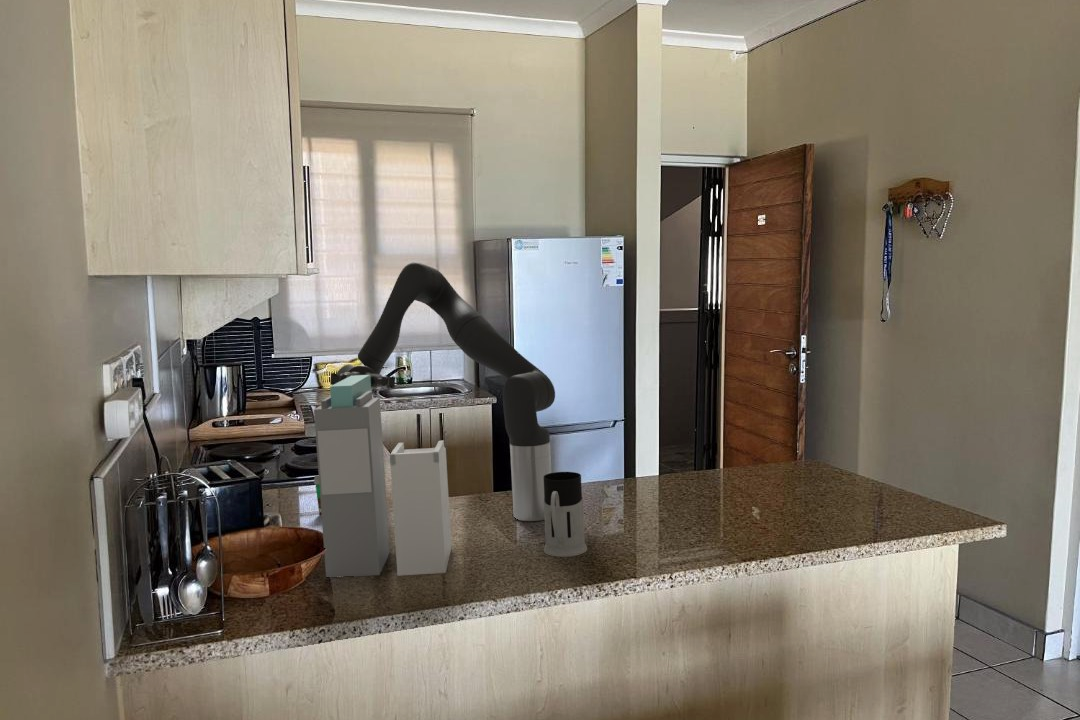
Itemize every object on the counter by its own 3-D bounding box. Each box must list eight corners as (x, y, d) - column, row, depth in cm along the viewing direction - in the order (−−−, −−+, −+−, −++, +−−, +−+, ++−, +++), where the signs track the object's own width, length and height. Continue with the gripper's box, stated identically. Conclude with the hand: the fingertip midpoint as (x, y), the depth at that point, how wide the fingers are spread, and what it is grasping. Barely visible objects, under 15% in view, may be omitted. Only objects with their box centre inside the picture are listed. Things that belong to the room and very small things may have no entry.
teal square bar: (371, 393, 170) (370, 374, 170) (353, 406, 150) (351, 385, 150) (352, 394, 170) (351, 375, 170) (331, 407, 150) (329, 386, 150)
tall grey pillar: (389, 552, 165) (379, 390, 162) (379, 575, 152) (367, 398, 149) (340, 555, 165) (329, 392, 162) (325, 578, 152) (313, 401, 149)
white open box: (451, 547, 167) (445, 437, 165) (445, 572, 152) (438, 451, 150) (407, 550, 166) (400, 440, 164) (397, 575, 151) (389, 454, 149)
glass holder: (590, 543, 165) (587, 471, 164) (578, 566, 151) (574, 488, 150) (548, 542, 167) (545, 470, 166) (532, 565, 153) (529, 487, 152)
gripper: (329, 364, 191) (332, 360, 175) (390, 367, 195) (398, 365, 179) (327, 396, 190) (330, 395, 175) (389, 399, 194) (396, 398, 179)
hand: (364, 380), depth 177 cm, fingers open, 8 cm apart
